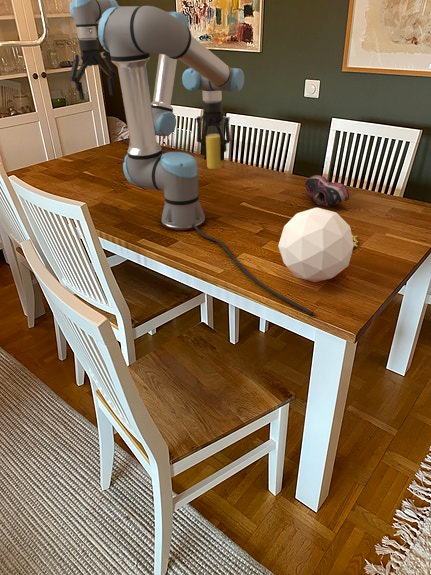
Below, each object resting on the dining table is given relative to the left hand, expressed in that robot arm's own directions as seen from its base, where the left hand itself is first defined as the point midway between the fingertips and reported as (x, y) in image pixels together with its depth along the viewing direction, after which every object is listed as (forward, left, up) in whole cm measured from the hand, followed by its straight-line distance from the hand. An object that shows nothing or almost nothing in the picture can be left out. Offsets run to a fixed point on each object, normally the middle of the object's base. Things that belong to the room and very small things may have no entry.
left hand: (97, 97), depth 185 cm
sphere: (+120, 0, -33) cm, 125 cm away
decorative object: (+109, +21, -33) cm, 116 cm away
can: (+39, +31, -27) cm, 57 cm away
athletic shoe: (+87, +44, -33) cm, 103 cm away
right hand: (+39, +30, -24) cm, 55 cm away
